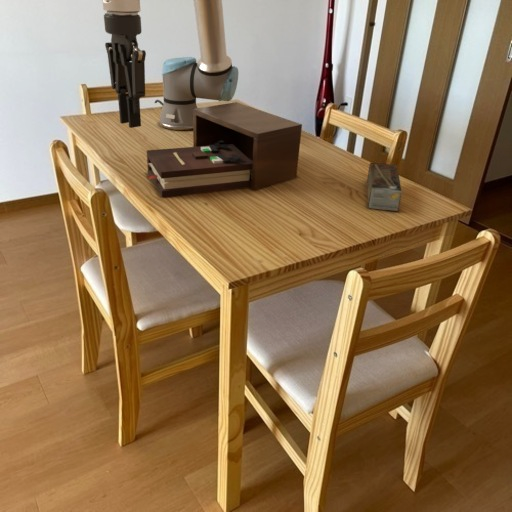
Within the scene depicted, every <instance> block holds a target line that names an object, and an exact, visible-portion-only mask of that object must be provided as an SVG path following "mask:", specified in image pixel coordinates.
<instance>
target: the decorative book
mask: <svg viewBox="0 0 512 512" xmlns="http://www.w3.org/2000/svg"><path fill="white" fill-rule="evenodd" d="M218 142H219V143H214V145H209V146H198V147H193V146H187V147H174V148H173V147H172V148H161V149H147V150H146V161H147V162H146V163H147V176H145V177H146V179H148V180H149V179H151V181H152V182H153V184H154V186H155V188H156V190H157V191H158V193H159V194H160V196H161V197H162V198H166V197H175V196H176V197H177V196H184V195H185V196H186V195H193V194H203V193H211V192H220V191H221V192H222V191H229V190H230V191H231V190H238V189H247V188H251V180H252V177H250V175H252V163H253V160H250V159H249V158H248V157H246V156H245V155H244V154H243V153H242V152H241V151H240V150H239V149H237V148H236V147H235V146H234V145H233V144H220V143H224V141H218Z"/></svg>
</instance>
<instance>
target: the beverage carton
mask: <svg viewBox="0 0 512 512" xmlns="http://www.w3.org/2000/svg"><path fill="white" fill-rule="evenodd" d="M401 185H402V184H401V180H400V175H399V169H398V165H397V164H391V163H390V164H389V163H383V162H382V163H379V162H370V163H369V166H368V172H367V177H366V190H367V202H368V208H369V209H373V210H374V209H375V210H383V211H391V212H398V210H399V207H400V202H401V199H402V186H401Z"/></svg>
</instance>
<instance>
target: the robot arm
mask: <svg viewBox="0 0 512 512" xmlns="http://www.w3.org/2000/svg"><path fill="white" fill-rule="evenodd" d="M193 7H194V15H195V21H196V30H197V37H198V45H199V51H200V57H199V59H198V60H197V58H196V57H192V56H181V57H173V58H172V57H171V58H169V59H166V60H164V61H163V62H162V70H161V71H162V72H161V76H162V93H163V102H162V101H161V100H160V99H156V100H155V101H154V104H157V103H159V104H160V105H161V106H162V108H161V112H160V116H159V122H158V123H159V126H160V127H161V128H163V129H166V130H172V131H193V109H196V108H198V105H197V99H202V100H203V99H204V100H212V101H218V102H230V101H232V99H233V98H234V96H235V94H236V91H237V87H238V82H239V69H238V67H237V66H235V65H233V62H232V58H231V57H230V56H229V55H227V54H228V53H227V44H226V43H227V42H226V33H225V20H224V8H223V0H193ZM102 8H103V11H105V13H104V14H103V22H104V31H105V33H107V34H108V35H111V38H110V42H105V43H104V46H105V50H106V53H107V62H108V69H109V79H110V84H111V89H112V90H115V93H116V94H117V102H118V113H119V123H120V124H128V128H130V129H134V128H139V127H142V119H141V104H140V103H141V102H140V101H141V100H140V99H141V98H145V97H146V69H145V68H146V66H145V65H146V64H145V61H146V56H147V53H146V50H144V49H142V50H141V48H139V43H138V40H137V39H138V38H137V36H138V35H141V34H142V17H141V16H140V14H139V13H140V12H141V0H102Z"/></svg>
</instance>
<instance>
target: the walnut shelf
mask: <svg viewBox="0 0 512 512" xmlns="http://www.w3.org/2000/svg"><path fill="white" fill-rule="evenodd" d="M302 127H303V124H302V123H299V122H296V121H294V120H290V119H288V118H284V117H281V116H278V115H275V114H273V113H270V112H267V111H264V110H261V109H257V108H255V107H252V106H249V105H246V104H243V103H240V102H237V101H235V102H228V103H222V104H216V105H208V106H204V107H197V108H196V109H193V129H192V132H193V133H192V137H193V139H192V140H193V141H192V143H193V145H192V147H198V146H209V145H214V143H219V142H218V141H224V143H220V144H233V145H234V146H235V147H236V148H237V149H239V150H240V151H241V152H242V153H243V154H244V155H245V156H246V157H248V158H249V159H250V160H251V161H252V162H253V163H252V170H251V171H252V174H251V179H252V180H251V187H250V189H252V190H253V191H256V190H260V189H262V188H265V187H269V186H273V185H275V184H279V183H282V182H286V181H289V180H292V179H296V178H297V176H298V175H297V174H298V165H299V156H300V147H301V138H302V129H303V128H302Z"/></svg>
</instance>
